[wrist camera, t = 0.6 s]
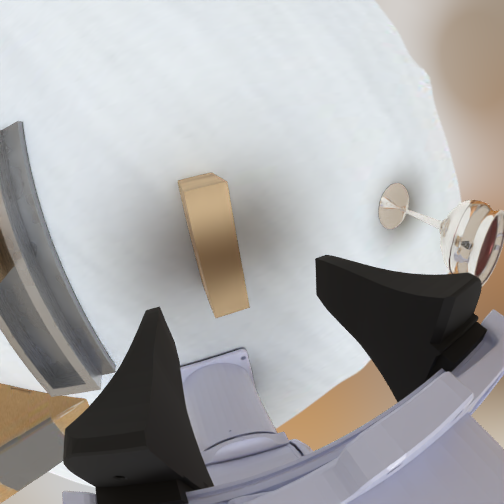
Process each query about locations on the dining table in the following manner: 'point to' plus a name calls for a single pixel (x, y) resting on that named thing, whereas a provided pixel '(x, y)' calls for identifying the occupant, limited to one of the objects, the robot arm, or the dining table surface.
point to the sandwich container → (32, 434)
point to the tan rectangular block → (214, 242)
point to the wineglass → (454, 231)
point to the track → (40, 287)
